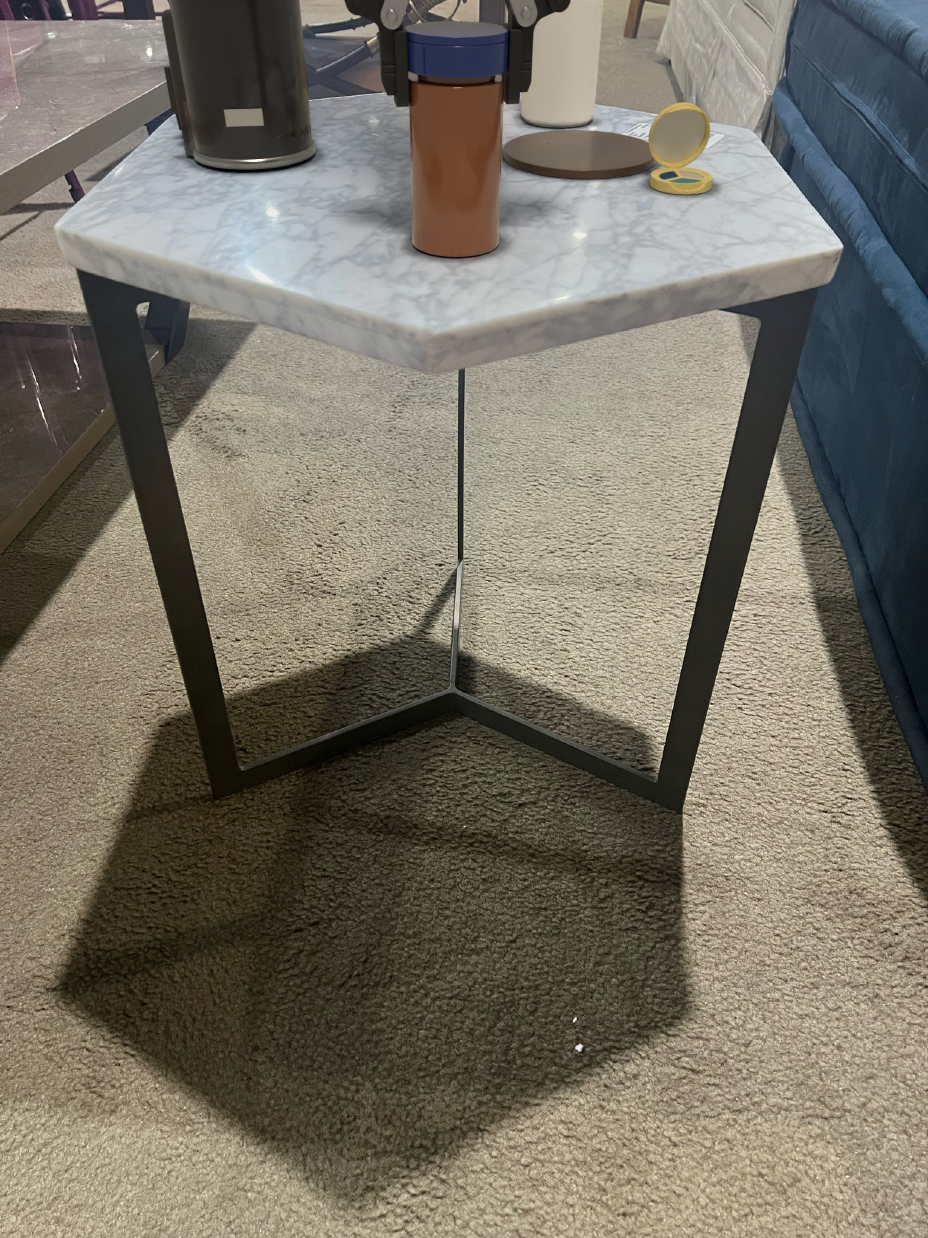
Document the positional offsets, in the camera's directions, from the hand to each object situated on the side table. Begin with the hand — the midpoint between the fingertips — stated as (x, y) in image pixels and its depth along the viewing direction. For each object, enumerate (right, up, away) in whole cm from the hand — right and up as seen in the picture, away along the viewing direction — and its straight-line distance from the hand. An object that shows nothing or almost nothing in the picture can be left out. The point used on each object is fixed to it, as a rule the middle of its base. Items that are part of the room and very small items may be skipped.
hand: (456, 101), depth 53 cm
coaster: (+10, +7, +20) cm, 23 cm away
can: (+9, +15, +29) cm, 34 cm away
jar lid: (0, +2, -2) cm, 3 cm away
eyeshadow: (+16, +2, +15) cm, 22 cm away
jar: (0, -6, +5) cm, 8 cm away
